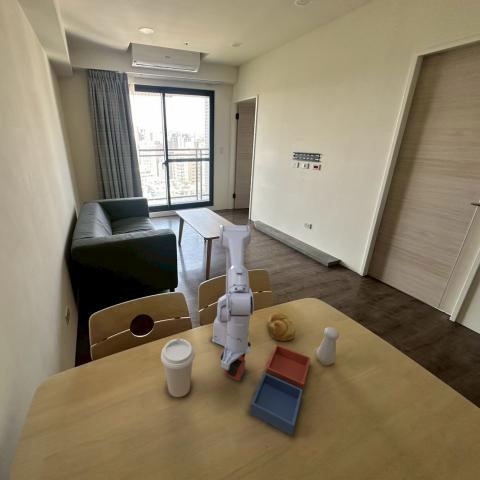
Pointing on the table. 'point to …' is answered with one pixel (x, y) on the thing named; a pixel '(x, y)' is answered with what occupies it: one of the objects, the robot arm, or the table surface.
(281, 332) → the bread roll
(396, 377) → the table surface
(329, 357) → the salt shaker
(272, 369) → the red bin
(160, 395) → the table surface
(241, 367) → the red block
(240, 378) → the blue block
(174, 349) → the coffee cup
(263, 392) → the blue bin
